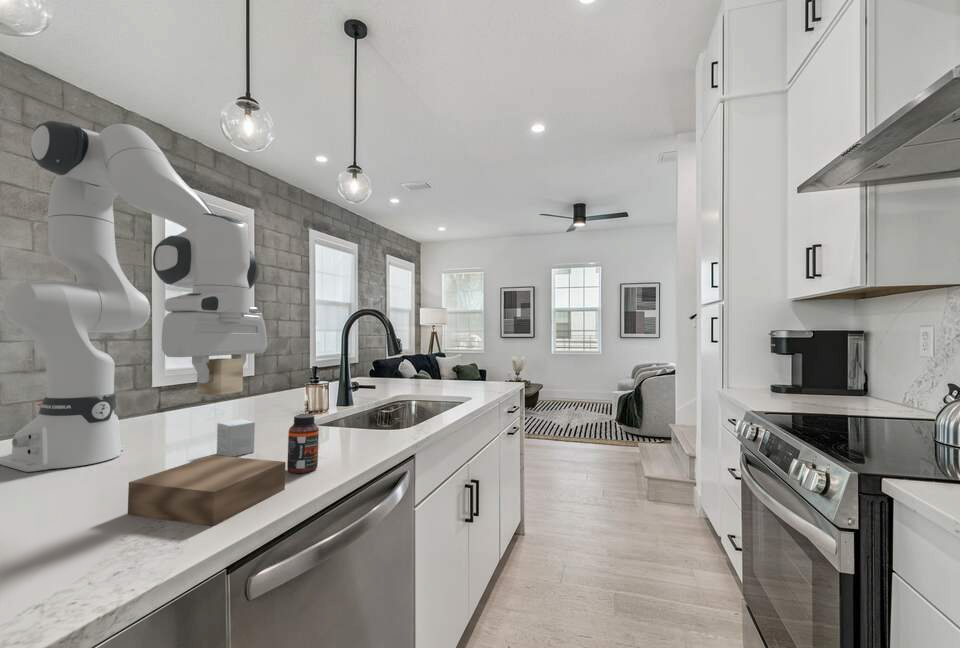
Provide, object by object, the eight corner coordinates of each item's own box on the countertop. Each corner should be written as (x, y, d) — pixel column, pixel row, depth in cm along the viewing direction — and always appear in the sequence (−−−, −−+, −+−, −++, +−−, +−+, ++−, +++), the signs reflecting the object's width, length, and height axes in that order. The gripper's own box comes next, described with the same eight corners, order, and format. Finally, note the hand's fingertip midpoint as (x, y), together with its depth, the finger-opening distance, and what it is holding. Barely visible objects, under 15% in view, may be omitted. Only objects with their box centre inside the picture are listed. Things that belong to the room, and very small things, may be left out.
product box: (254, 452, 105) (255, 421, 105) (227, 458, 100) (228, 425, 100) (242, 448, 108) (243, 418, 108) (215, 453, 103) (216, 422, 103)
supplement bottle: (307, 475, 88) (308, 419, 89) (280, 473, 90) (282, 417, 90) (323, 466, 94) (324, 413, 95) (298, 464, 95) (299, 412, 96)
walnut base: (127, 514, 68) (128, 482, 68) (211, 481, 84) (212, 455, 84) (213, 526, 65) (214, 491, 65) (284, 489, 80) (285, 461, 80)
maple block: (196, 394, 77) (197, 359, 77) (219, 390, 82) (220, 358, 82) (221, 394, 76) (221, 360, 76) (242, 391, 81) (243, 358, 81)
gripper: (248, 308, 90) (247, 375, 90) (154, 299, 70) (153, 386, 70) (275, 307, 89) (274, 376, 88) (187, 298, 69) (186, 387, 68)
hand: (220, 380), depth 79 cm, fingers closed on maple block, 5 cm apart
